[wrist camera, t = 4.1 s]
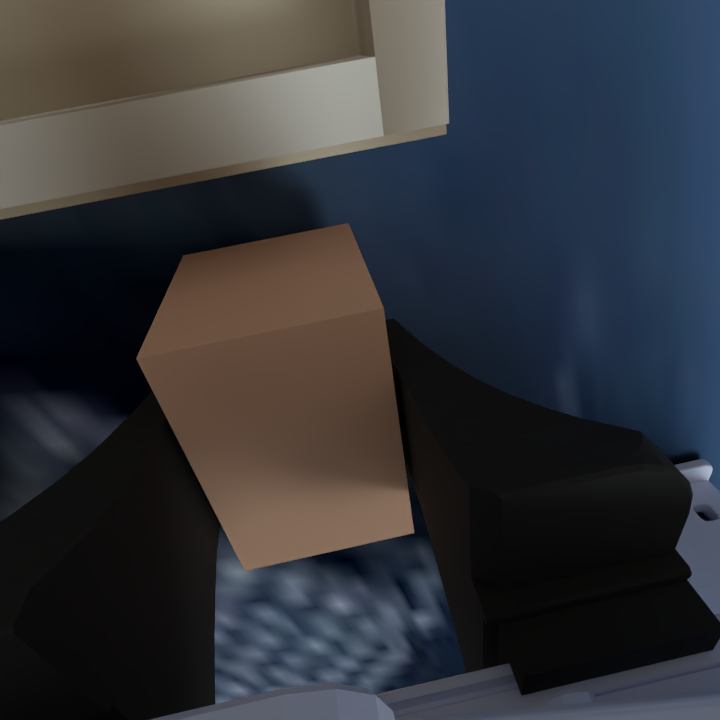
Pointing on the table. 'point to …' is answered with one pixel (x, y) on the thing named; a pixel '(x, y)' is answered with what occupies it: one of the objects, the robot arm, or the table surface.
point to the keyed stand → (205, 90)
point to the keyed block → (283, 394)
